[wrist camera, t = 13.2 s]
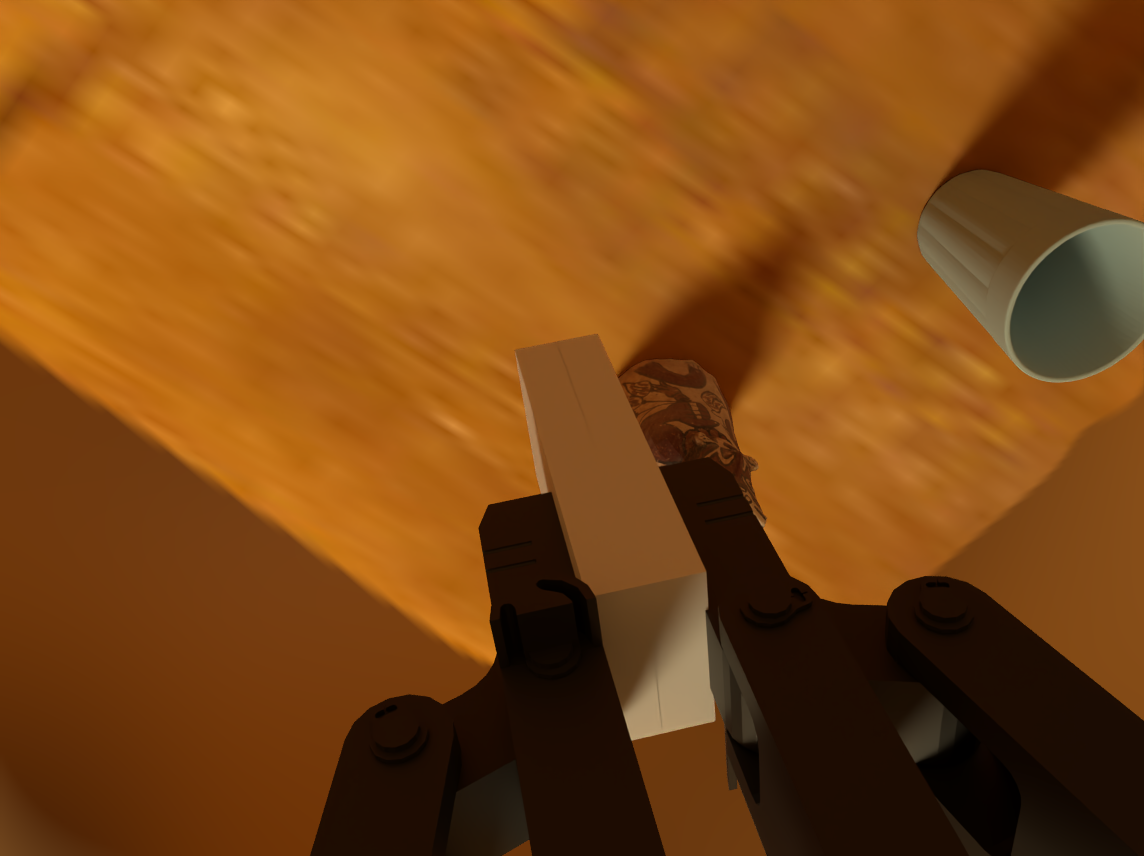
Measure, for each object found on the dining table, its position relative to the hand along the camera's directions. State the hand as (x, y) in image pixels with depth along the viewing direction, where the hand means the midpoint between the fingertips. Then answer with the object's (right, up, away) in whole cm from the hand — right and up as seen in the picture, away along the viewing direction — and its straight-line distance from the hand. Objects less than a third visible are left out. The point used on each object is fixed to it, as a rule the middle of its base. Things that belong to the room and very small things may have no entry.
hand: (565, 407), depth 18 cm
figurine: (+5, 0, +36) cm, 37 cm away
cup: (+21, +10, +33) cm, 41 cm away
